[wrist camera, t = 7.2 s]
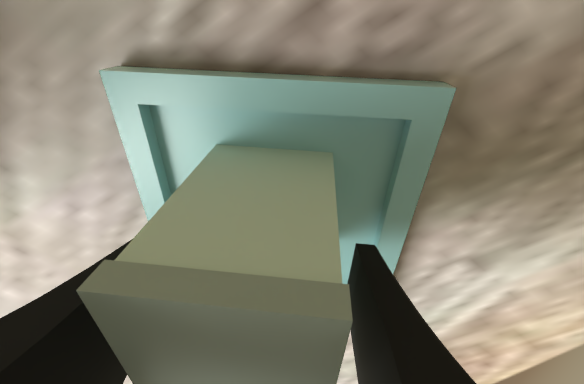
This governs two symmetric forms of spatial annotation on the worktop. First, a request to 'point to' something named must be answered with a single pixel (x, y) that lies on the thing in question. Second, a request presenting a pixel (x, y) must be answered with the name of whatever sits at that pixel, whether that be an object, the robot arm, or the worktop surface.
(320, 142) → the tray
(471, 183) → the worktop surface
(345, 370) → the worktop surface
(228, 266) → the tea tin
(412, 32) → the worktop surface
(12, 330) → the robot arm
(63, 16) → the worktop surface
